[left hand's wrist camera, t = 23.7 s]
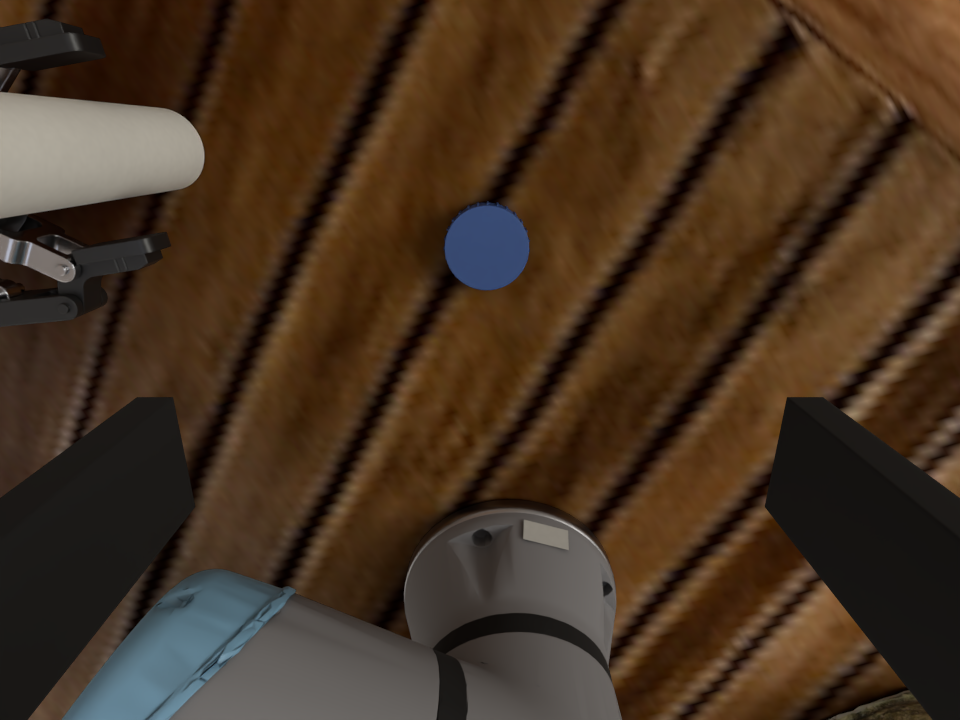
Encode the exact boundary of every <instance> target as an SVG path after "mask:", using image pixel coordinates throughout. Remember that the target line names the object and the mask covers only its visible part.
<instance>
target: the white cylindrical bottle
mask: <svg viewBox="0 0 960 720" xmlns="http://www.w3.org/2000/svg"><path fill="white" fill-rule="evenodd" d="M203 165H204V148H203V144H202V141H201V139H200V136H199V134H198V133H197V131H196V130H195V128H194V127H193V126H192V124H191V123H190V122H189V121H188V120H187V119H185V118H184V117H183V116H181V115H180V114H178V113H176V112H174V111H172V110H169V109H165V108H156V107H146V106H136V105H126V104H116V103H106V102H96V101H86V100H76V99H66V98H56V97H46V96H36V95H25V94H15V93H5V92H0V219H1V218H7V217H13V216H19V215H25V214H31V213H38V212H44V211H50V210H56V209H62V208H68V207H74V206H80V205H87V204H93V203H99V202H105V201H111V200H117V199H123V198H129V197H136V196H142V195H148V194H154V193H160V192H166V191H172V190H178V189H183V188H185V187H187V186H189V185H191V184H192V183H193V182H194V181H196V179H197V178H198V177H199V175H200V173H201V171H202V169H203Z"/></svg>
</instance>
